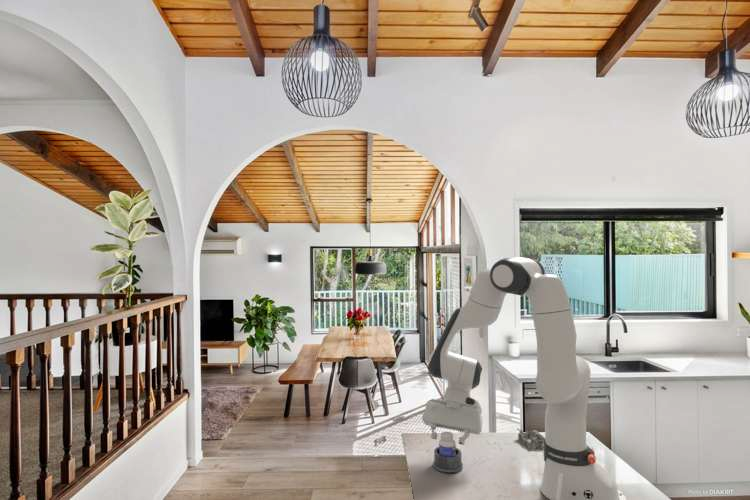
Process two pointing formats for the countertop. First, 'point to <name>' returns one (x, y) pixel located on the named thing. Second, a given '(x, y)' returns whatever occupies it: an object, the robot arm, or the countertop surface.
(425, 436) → the countertop surface
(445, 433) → the pill bottle
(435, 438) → the robot arm
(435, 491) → the countertop surface
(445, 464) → the cup holder
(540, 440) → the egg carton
